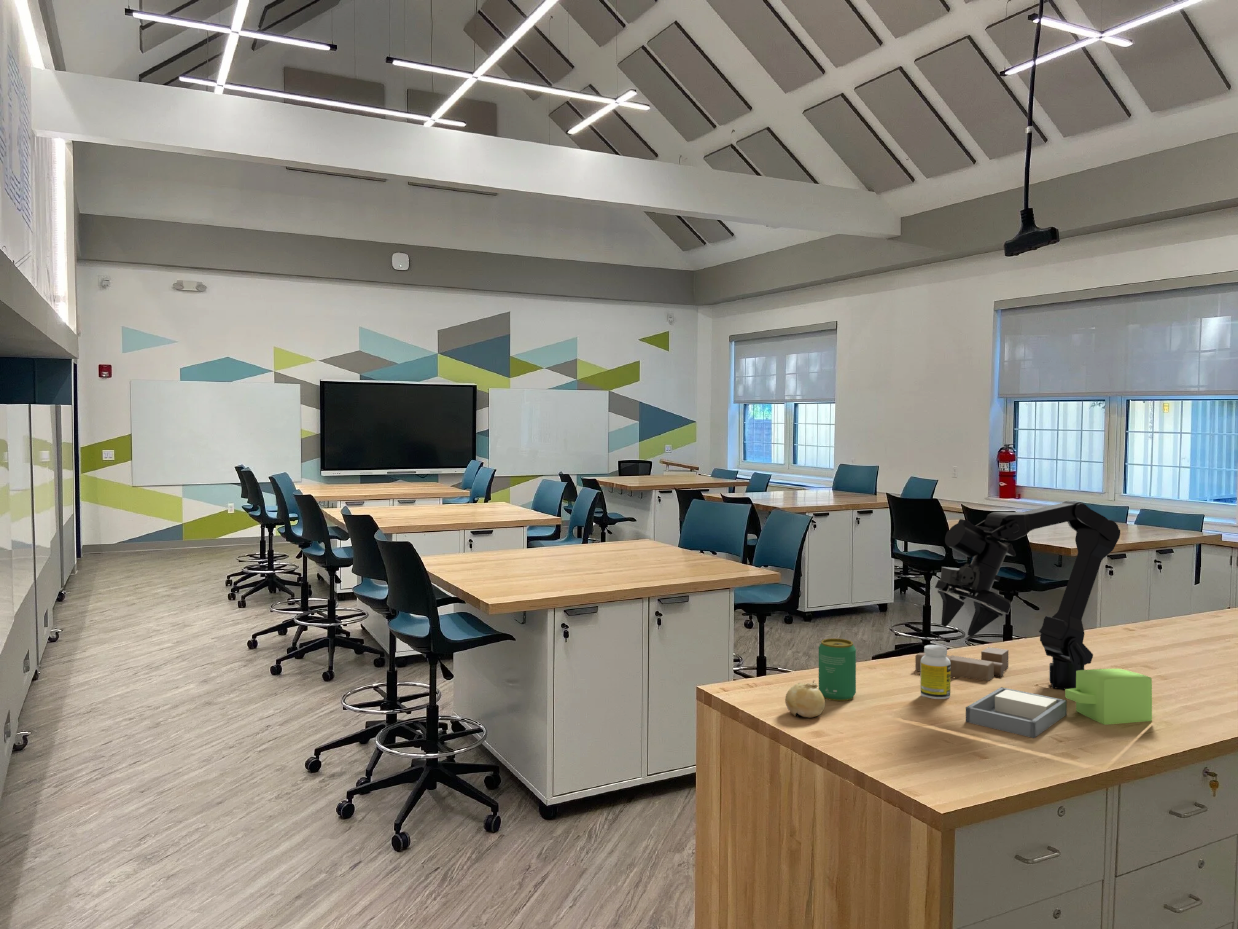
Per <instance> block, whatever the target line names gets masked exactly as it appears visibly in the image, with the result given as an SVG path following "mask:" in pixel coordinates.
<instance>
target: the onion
mask: <svg viewBox="0 0 1238 929" xmlns="http://www.w3.org/2000/svg"><path fill="white" fill-rule="evenodd" d="M815 681H816V680H812V682H811V683H809V682H808V683H803V682H802V683H801V682H799V683H797V684H794V685H793V686H791V687H790V688H789V690H788V691H787V692H786V694H785V698H784V700H785V701H784V703H785V706H786V708H787V710H788V711H789V712H790V713H791V714H792V715H793V716H795V717H797V718H798V717H799V716H801V717H803V718H814V717H817V716H820V715H821V714H822V712H823V711H824V709H825V708H826V701H825V700H826V699H825V698H824V697H823V694H822V693H821V691H820V690H819V685H818V683H815ZM797 714H798V715H797ZM796 715H797V716H796Z"/></svg>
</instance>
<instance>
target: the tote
mask: <svg viewBox="0 0 1238 929" xmlns="http://www.w3.org/2000/svg"><path fill="white" fill-rule="evenodd" d="M1004 690H1011V691H1016V692H1021V693H1026V694H1031V695H1036V696H1041V697H1046V698H1050V699H1055V700H1057V704H1055V705H1054V706H1052V707H1051V708H1049V709H1048V710H1046V711H1045V712H1043V713H1042V714H1040V715H1039V716H1038V717H1036V718H1035V719H1031V718H1027V717H1022V716H1018V715H1013V714H1009V713H1004V712H1000V711H995V696H996V695H998V694H999V693H1001V692H1003V691H1004ZM1067 705H1068V704H1067V700H1066V699H1061V698H1056V697H1051V696H1046V695H1042V694H1037V693H1032V692H1026V691H1023V690H1017V689H1012V688H1007V687H1003V686H1001V687H998V688H997V689H996V690H994V691H991V692H990V693H988V694H986V695H984V696H983V697H980V699H978V700H976V701H975V702H973V703H971V704H969V705H967V706H966V707H965V723H969V724H973V725H977V726H981V727H985V728H989V729H993V730H999V731H1002V732H1008V733H1010V734H1016V735H1019V736H1024V737H1029V738H1033V739H1035V738H1037V737H1038V736H1039V735H1040V734H1042V733H1044V732H1045V731H1046V730H1048V729H1049V728H1051V726H1053V725H1055V724H1056V723H1057V722H1058V721H1060V720H1061V719H1062V718H1064V717H1066V715H1067V711H1068V710H1067Z"/></svg>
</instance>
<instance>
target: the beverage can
mask: <svg viewBox="0 0 1238 929" xmlns="http://www.w3.org/2000/svg"><path fill="white" fill-rule="evenodd" d="M820 642H821V643H820V644H819V646H818V689H819V690H820V691H821V693H822V694H823V697H824V699H825V698H826V699H825V700H829V699H830V700H829V701H837V702H846V701H847V702H848V701H850V700H853V699H854V698H855V695H856V694H857V685H856V684H857V648H856V647H855V645H854V642H853V641H852V640H849V639H845V638H825V639H822V640H821V641H820ZM853 697H854V698H853Z"/></svg>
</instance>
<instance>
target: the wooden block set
mask: <svg viewBox="0 0 1238 929" xmlns="http://www.w3.org/2000/svg"><path fill="white" fill-rule="evenodd" d="M980 654H981V655H980V658H981V659H978V658H973V657H972V658H971V657H966V656H965V657H964V656H960V655H953V654H952V655H948V654H947V655H946V657H947V658H948V659H949V660H950V663H951V675H950V678H952V677H955V678H954V679H960V678H967V679H968V678H969V679H975V680H979V681H985V682H989V681H991V680H992V679H993V678H994V677H1001V678H1002V677H1004V673H1005V670H1007V669H1008V668H1009V649H1007V648H1006V649H1004V648H997V647H990V646H988V647H986V648H985V649H982V651H981V652H980ZM923 656H925V653H924V652H919V653H917V654H916V655H915V658H914V659H915V661H914V662H915V664H914V665H915V666H914V667H915V671H916V670H918V671H917V672H921V658H922V657H923ZM994 675H995V676H994Z"/></svg>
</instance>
